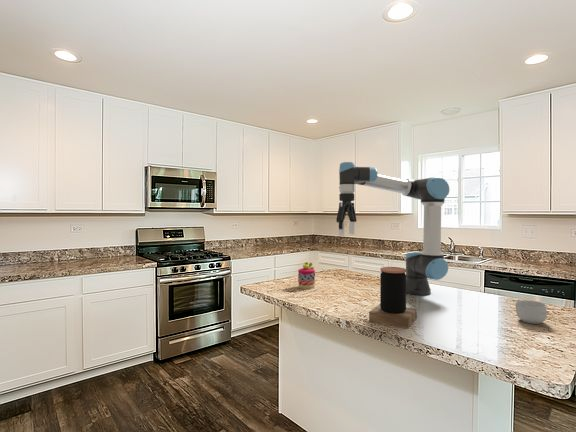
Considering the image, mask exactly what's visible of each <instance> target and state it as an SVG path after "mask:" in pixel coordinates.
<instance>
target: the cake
mask: <svg viewBox="0 0 576 432" xmlns="http://www.w3.org/2000/svg"><path fill="white" fill-rule="evenodd" d="M297 271H298V274H297V275H298V277H297V281H298V288H299V289H302V290H313V289H315V287H316V286H315V285H316V284H315V283H316V270H315V267H314V266H313V263H312V262H307V261H306V262H304V264H303V265H302V268H299V269H298V270H297Z"/></svg>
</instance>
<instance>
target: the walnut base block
mask: <svg viewBox="0 0 576 432" xmlns="http://www.w3.org/2000/svg"><path fill="white" fill-rule="evenodd" d="M417 312H418V309H417V308H415V307H407V306H406V310H405V312H404V313H399V314H393V313H387V312H384V311H383V310H382V309H381V307H380V303H379V304H378V305H376V307H374V308H372V309H371V310H370V311H369V312H368V321H369V323H376V324H380V325H387V326H392V327H395V328H396V327H397V328H403V329H409V328H410V327H411V325H413V323H414V322H415V320H417V317H418V315H417V314H418V313H417Z"/></svg>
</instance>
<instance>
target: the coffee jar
mask: <svg viewBox="0 0 576 432" xmlns="http://www.w3.org/2000/svg"><path fill="white" fill-rule="evenodd" d="M379 276H380V279H379V280H380V282H379V283H380V287H379V288H380V292H379V293H380V299H379V301H380V303H379V304H380V307H381V309H382V310H383V311H384V312H387V313H393V314H399V313H404V312H405V310H406V307H407V293H406V268H404V267H401V266H400V267H398V266H384V267H380V275H379Z"/></svg>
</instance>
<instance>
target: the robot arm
mask: <svg viewBox="0 0 576 432" xmlns="http://www.w3.org/2000/svg"><path fill="white" fill-rule="evenodd" d="M355 165H356V164H355V162H352V161H344V162H341V163H340V164H339V169H338V173H339V176H338V177H339V185H338V186H339V187H338V189H339V195H338V196H339V201H340V202H339V203H338V211H337V215H336V220H335V221H336V223H338V237H344V236H345V222H344V221H345V218H346V215H347V216H348V219H349V221H348V222H349V223H348V226H349V227H348V231H349V232H348V235H355V232H356V231H355V228H356V227H355V223H356V222H357V216H356V209H355V202H354V201H355V191H356V190H355V185H359V186H366V187H369V188H370V187H371V188H374V189H378V190H385V191H389V192H394V193H398V194H401V195H402V196H404V197H409V198H412V199H415V200H420V203H421V205H422V206H423V235H422V236H423V241H422V242H423V245H422V247H423V248H422V249H423V250H422V251H420V252H419V251H418V252H416V251H415V252H407V253H406V255H405V269H406V272H405V274H406V294H408V295H416V296H427V295H431V294H432V292H431V290H432V289H431V287H430V283H429V280H435V281H437V280H438V281H439V280H441V279H443V278H444V277H446V275H447V274H448V272H449V264H448V262H447V261H446V260H445V259H444V258H445V256H444V255H445V254H444V253H443V252H442V250H441V249H442V247H441V245H442V243H441V242H442V206H443V205H444V204H445V200H446V198H447V196H449V194H450V185H449V183H448V181H447V180H446V179H444V178H443V177H440V176H437V177H436V176H432V177H427V178H419V179H410V178H406V179H401V178H396V177H391V176H386V175H382V174H378V173H379V172H378V170H377V168H376V167H373V166H355ZM428 279H429V280H428Z"/></svg>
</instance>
